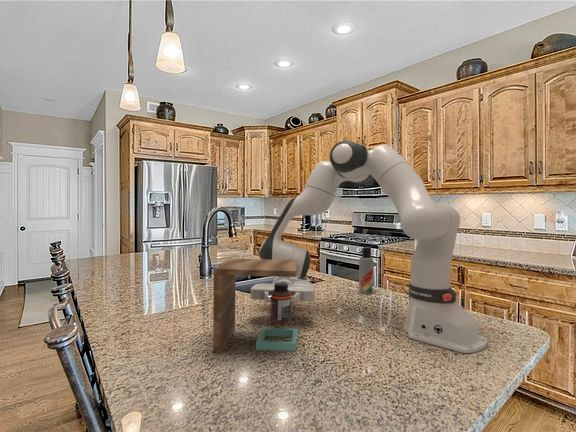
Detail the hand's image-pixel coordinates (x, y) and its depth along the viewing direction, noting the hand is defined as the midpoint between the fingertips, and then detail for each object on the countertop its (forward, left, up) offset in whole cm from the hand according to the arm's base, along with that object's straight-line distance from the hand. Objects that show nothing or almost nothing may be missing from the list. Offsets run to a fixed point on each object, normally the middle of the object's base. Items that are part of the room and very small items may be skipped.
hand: (280, 299), depth 99 cm
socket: (-5, +5, -10) cm, 12 cm away
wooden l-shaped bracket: (-2, +9, -10) cm, 13 cm away
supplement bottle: (+1, -1, -7) cm, 7 cm away
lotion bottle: (+14, -57, -10) cm, 59 cm away
